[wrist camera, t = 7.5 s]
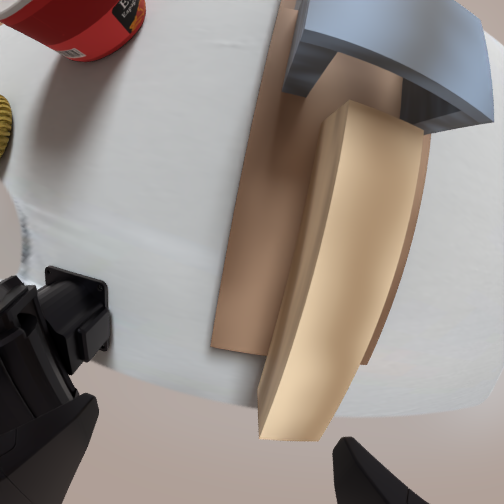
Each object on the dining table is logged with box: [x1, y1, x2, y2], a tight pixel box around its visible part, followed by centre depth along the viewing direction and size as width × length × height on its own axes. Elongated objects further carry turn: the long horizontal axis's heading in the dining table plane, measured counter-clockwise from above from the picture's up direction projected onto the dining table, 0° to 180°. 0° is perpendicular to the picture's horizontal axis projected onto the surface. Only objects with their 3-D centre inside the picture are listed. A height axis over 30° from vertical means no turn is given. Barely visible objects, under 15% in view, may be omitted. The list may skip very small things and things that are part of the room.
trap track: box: [210, 0, 494, 365], centre depth 12 cm, size 12×30×10 cm, turn 169°
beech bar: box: [257, 100, 424, 441], centre depth 15 cm, size 4×19×5 cm, turn 169°
